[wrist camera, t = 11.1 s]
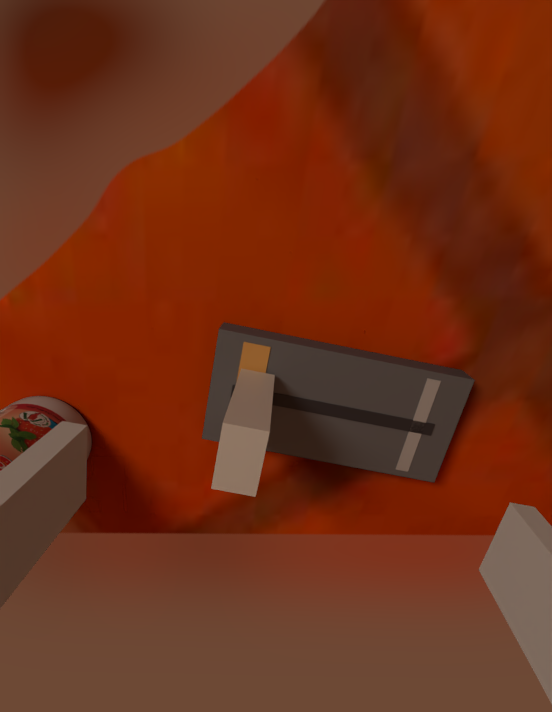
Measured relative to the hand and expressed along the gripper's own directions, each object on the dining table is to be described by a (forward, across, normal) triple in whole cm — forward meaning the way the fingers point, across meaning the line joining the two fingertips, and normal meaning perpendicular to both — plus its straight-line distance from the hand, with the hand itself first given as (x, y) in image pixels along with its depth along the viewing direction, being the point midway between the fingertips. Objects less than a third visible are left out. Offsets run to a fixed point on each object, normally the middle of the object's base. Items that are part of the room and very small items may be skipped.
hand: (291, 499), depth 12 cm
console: (+24, +5, -7) cm, 26 cm away
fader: (+21, -2, -7) cm, 22 cm away
